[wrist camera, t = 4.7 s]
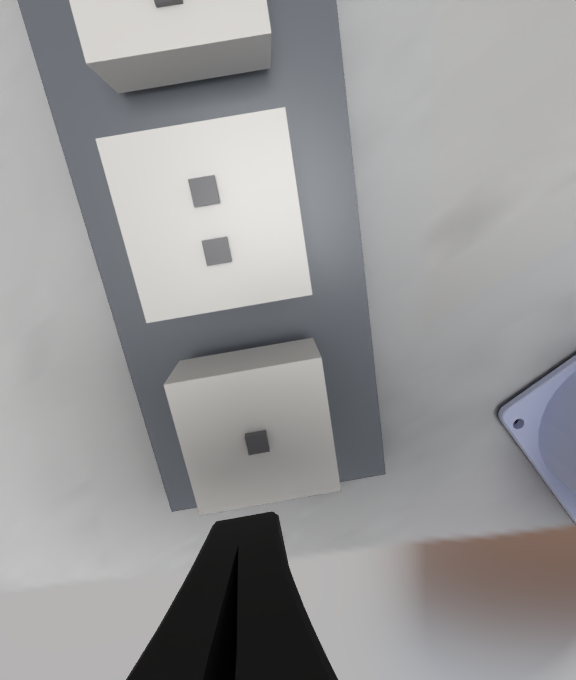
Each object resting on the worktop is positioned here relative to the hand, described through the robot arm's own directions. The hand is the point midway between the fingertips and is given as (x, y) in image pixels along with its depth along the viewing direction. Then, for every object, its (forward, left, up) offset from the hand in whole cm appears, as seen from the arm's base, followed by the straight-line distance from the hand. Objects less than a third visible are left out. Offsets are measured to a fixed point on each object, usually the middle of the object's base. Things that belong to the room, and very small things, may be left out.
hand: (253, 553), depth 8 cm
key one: (0, 0, -7) cm, 7 cm away
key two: (+6, -4, -7) cm, 10 cm away
